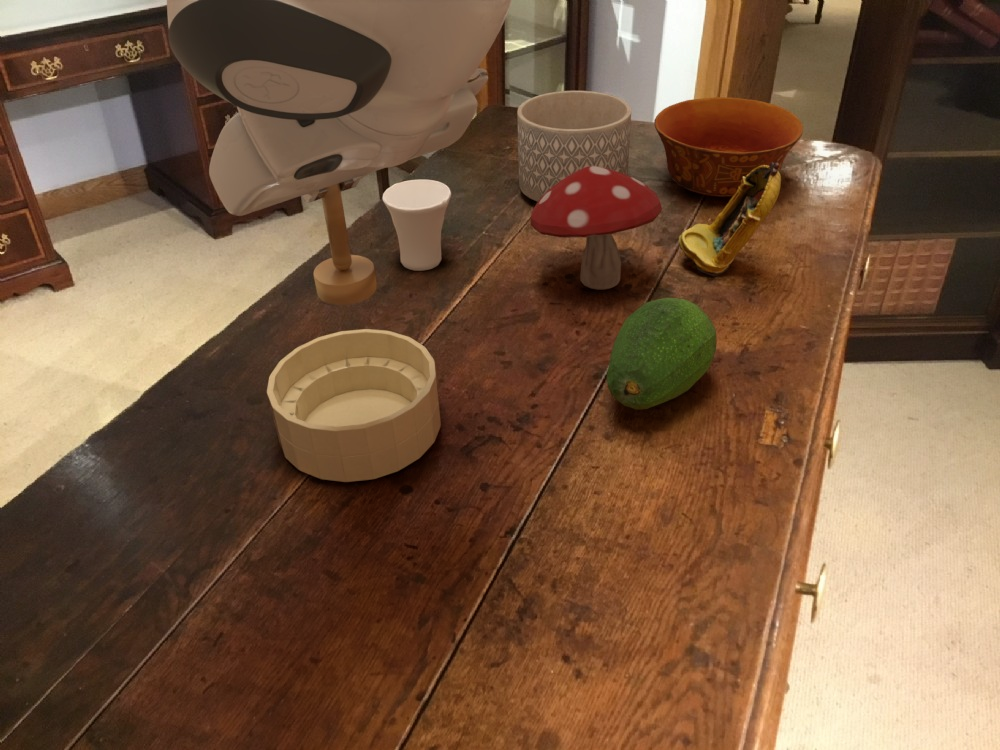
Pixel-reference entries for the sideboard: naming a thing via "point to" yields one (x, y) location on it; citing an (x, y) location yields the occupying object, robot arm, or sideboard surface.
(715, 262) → the shrine
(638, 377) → the fruit
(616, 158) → the planter
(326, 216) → the wooden dowel stand
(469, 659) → the sideboard surface
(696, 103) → the bowl
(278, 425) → the mixing bowl
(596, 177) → the decorative mushroom
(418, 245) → the cup
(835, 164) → the sideboard surface
